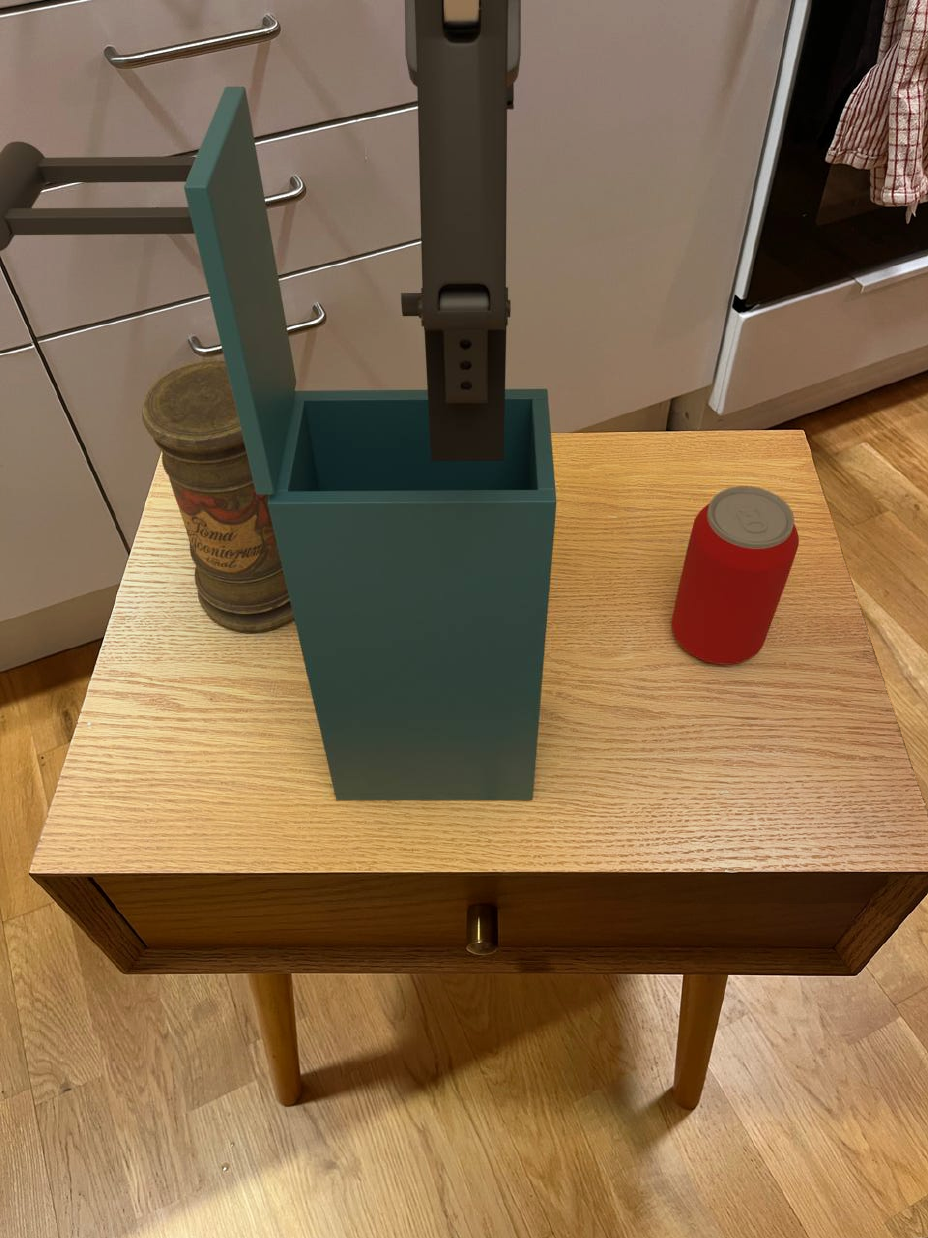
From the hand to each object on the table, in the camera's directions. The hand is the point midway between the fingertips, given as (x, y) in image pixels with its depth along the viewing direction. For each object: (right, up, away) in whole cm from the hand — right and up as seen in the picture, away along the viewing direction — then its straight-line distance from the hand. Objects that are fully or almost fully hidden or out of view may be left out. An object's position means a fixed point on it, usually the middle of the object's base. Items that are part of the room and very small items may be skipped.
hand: (468, 350), depth 41 cm
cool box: (-2, -20, +23) cm, 31 cm away
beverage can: (+18, -13, +29) cm, 37 cm away
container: (-16, -9, +33) cm, 38 cm away
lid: (-8, +1, -2) cm, 9 cm away
